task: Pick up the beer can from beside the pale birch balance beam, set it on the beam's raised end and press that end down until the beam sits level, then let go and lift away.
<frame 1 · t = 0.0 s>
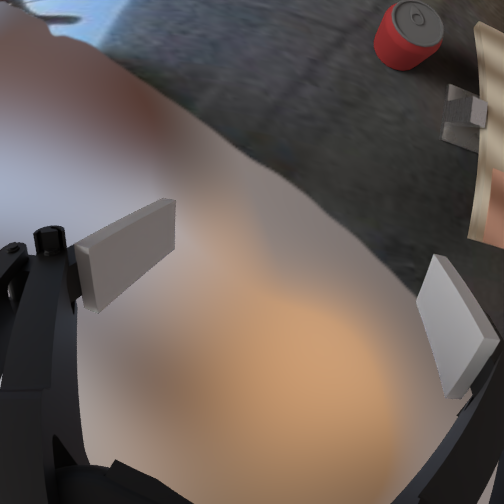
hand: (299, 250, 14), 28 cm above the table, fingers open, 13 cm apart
pivot stand: (492, 131, 30), on the table
beer can: (396, 49, 30), on the table
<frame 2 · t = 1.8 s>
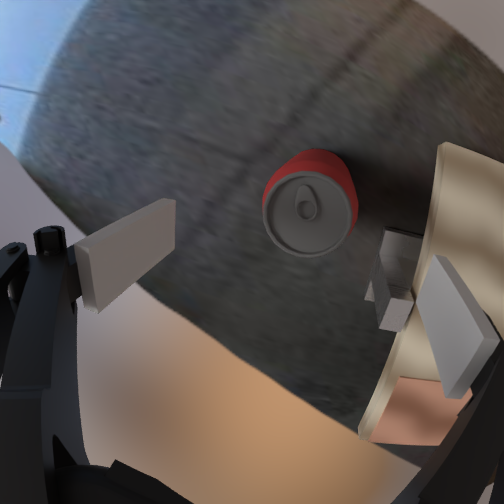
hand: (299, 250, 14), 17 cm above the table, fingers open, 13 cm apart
balance beam: (465, 318, 22), point 8 cm above the table, hinge at -15.0°
pivot stand: (442, 277, 29), on the table
beer can: (317, 181, 29), on the table
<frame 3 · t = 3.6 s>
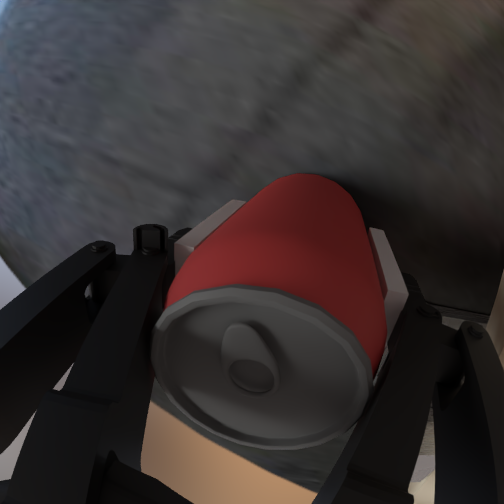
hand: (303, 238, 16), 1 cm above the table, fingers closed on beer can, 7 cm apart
pivot stand: (482, 361, 17), on the table
beer can: (306, 228, 18), on the table, touching gripper
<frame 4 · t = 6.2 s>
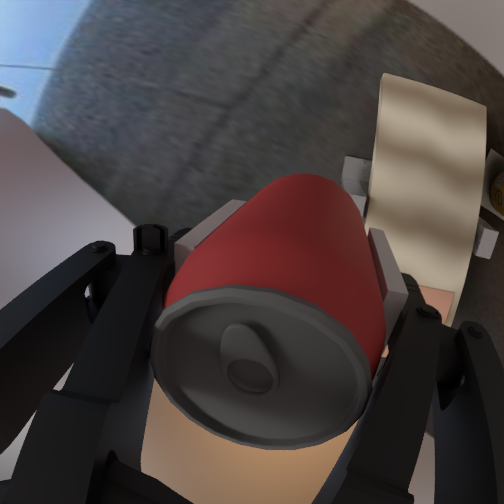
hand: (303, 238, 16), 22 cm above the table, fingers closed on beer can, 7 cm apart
balance beam: (422, 222, 27), point 8 cm above the table, hinge at -15.0°
pivot stand: (405, 201, 34), on the table
beer can: (305, 228, 18), point 20 cm above the table, touching gripper
condiment: (501, 187, 29), on the table
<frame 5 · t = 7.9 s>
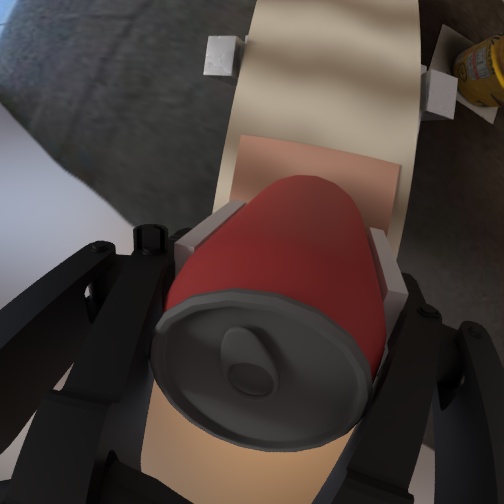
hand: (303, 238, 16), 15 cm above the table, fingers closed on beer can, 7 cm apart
balance beam: (332, 69, 18), point 8 cm above the table, hinge at -15.0°
pivot stand: (332, 85, 25), on the table
beer can: (305, 229, 18), point 13 cm above the table, touching gripper
condiment: (468, 73, 20), on the table
when the fingers open (11 cm above the table, at t = 9.1 s): beer can stays where it is, resting on balance beam.
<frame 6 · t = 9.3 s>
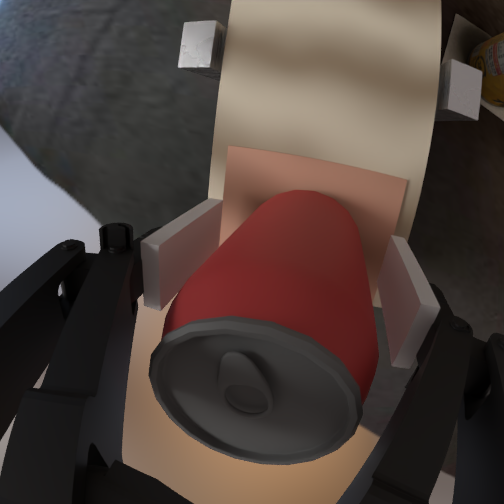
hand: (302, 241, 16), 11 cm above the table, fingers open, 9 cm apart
balance beam: (332, 58, 14), point 8 cm above the table, hinge at -0.7°, touching beer can
pivot stand: (333, 80, 21), on the table
beer can: (303, 243, 18), point 9 cm above the table, touching balance beam
condiment: (485, 69, 17), on the table
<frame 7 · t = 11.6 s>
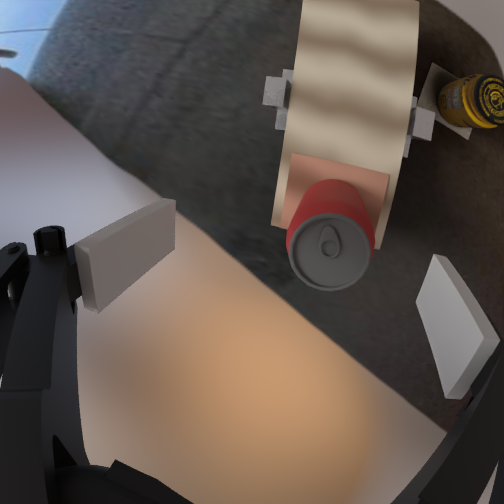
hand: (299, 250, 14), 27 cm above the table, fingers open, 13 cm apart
balance beam: (350, 105, 27), point 8 cm above the table, hinge at 0.1°, touching beer can
pivot stand: (347, 111, 34), on the table
beer can: (332, 209, 31), point 9 cm above the table, touching balance beam
condiment: (450, 101, 30), on the table
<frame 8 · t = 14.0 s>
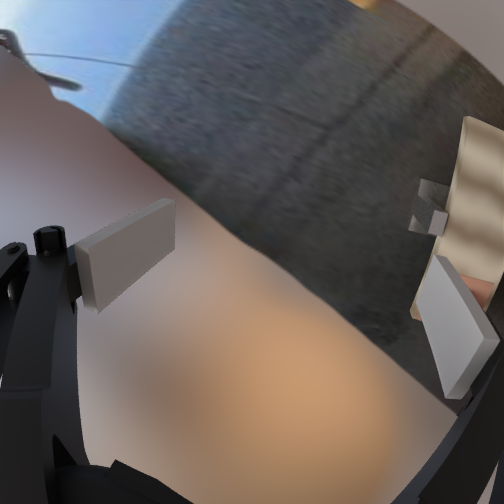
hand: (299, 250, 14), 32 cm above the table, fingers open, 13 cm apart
balance beam: (480, 233, 32), point 8 cm above the table, hinge at 0.1°, touching beer can
pivot stand: (459, 216, 39), on the table
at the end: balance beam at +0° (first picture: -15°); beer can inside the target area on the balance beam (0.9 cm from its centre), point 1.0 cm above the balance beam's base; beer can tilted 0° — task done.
